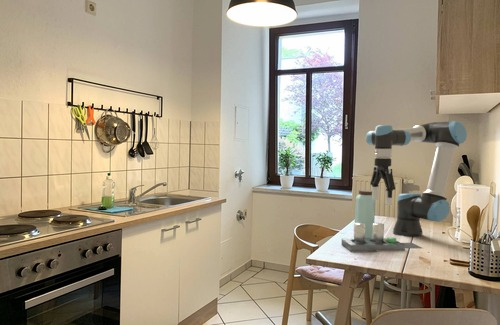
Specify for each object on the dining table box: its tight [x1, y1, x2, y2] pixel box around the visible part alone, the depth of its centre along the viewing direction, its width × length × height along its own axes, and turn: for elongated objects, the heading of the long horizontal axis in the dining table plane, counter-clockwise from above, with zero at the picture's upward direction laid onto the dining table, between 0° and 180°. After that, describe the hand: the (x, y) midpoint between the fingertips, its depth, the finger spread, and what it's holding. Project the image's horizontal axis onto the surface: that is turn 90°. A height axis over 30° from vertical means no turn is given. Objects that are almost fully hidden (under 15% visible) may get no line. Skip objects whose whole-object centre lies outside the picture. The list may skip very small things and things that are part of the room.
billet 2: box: [372, 222, 385, 243], centre depth 174 cm, size 5×5×10 cm
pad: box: [401, 242, 423, 249], centre depth 178 cm, size 10×10×1 cm
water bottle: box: [354, 189, 376, 238], centre depth 192 cm, size 10×10×25 cm
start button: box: [387, 236, 397, 243], centre depth 175 cm, size 4×4×2 cm
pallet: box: [341, 237, 406, 253], centre depth 174 cm, size 26×12×3 cm, turn 96°
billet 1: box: [353, 222, 365, 244], centre depth 173 cm, size 5×5×10 cm
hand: (381, 202), depth 174 cm, fingers open, 13 cm apart
